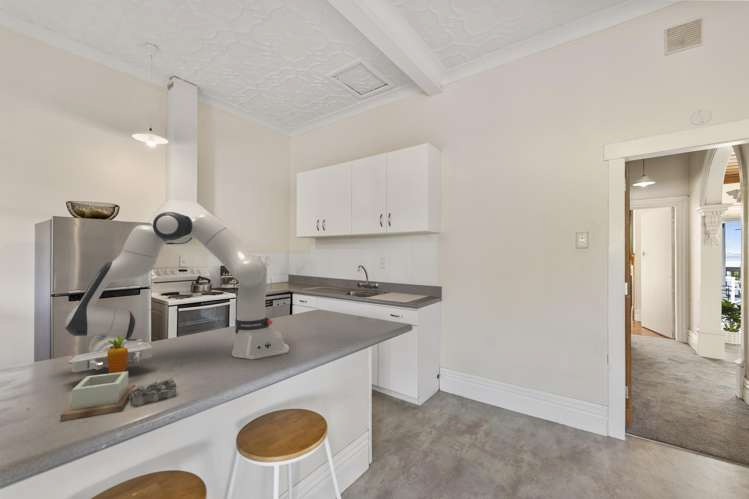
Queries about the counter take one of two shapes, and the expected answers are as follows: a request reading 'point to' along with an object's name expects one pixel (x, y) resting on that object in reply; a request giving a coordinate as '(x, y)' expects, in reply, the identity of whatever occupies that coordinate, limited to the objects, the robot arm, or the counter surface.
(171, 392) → the egg carton
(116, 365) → the carrot
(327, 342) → the counter surface
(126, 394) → the walnut board
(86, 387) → the square open planter
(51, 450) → the counter surface
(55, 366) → the counter surface
